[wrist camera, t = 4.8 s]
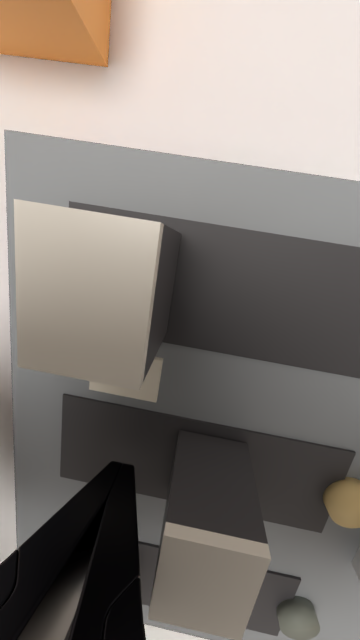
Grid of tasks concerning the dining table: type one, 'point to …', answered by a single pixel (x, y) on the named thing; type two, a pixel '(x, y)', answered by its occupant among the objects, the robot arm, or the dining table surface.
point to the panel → (216, 365)
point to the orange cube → (56, 30)
